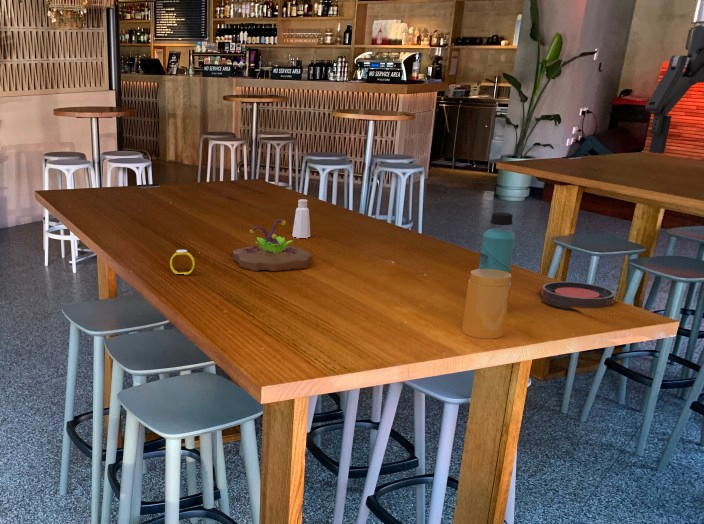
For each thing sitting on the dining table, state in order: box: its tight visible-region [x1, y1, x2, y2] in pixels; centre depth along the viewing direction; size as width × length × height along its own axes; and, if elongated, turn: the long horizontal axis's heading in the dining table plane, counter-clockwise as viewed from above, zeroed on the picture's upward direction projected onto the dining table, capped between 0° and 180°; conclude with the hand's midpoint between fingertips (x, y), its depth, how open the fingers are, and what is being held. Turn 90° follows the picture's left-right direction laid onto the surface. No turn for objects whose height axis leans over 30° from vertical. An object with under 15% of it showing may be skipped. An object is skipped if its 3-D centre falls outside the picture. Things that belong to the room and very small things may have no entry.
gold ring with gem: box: [169, 249, 196, 276], centre depth 194 cm, size 6×3×6 cm, turn 83°
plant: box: [232, 218, 312, 272], centre depth 205 cm, size 20×20×11 cm
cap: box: [554, 287, 600, 298], centre depth 170 cm, size 9×9×2 cm
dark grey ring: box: [539, 281, 616, 312], centre depth 170 cm, size 14×14×3 cm
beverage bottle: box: [478, 211, 516, 274], centre depth 163 cm, size 6×7×20 cm
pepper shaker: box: [291, 198, 311, 239], centre depth 235 cm, size 5×5×11 cm
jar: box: [461, 268, 513, 340], centre depth 150 cm, size 8×8×12 cm
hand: (686, 152), depth 146 cm, fingers open, 13 cm apart
